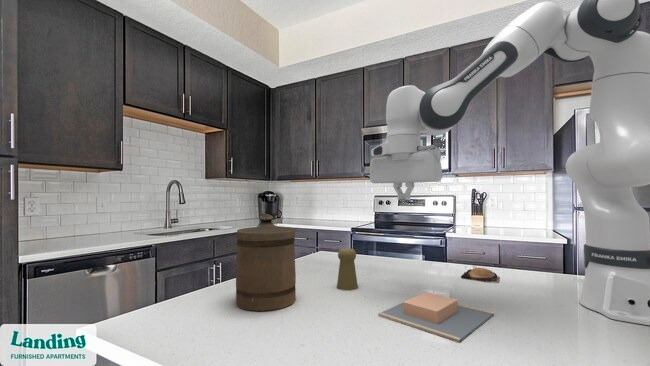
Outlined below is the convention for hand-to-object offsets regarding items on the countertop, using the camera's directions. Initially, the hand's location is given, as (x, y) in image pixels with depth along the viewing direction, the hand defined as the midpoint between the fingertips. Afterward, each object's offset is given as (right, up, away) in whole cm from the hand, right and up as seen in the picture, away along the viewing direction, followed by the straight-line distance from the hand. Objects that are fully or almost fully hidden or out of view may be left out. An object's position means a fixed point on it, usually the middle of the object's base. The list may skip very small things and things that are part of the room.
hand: (403, 200), depth 85 cm
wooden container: (-36, -26, -4) cm, 44 cm away
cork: (-15, -26, +7) cm, 30 cm away
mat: (+4, -25, -14) cm, 29 cm away
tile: (0, -23, -10) cm, 25 cm away
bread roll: (+28, -26, +16) cm, 41 cm away
